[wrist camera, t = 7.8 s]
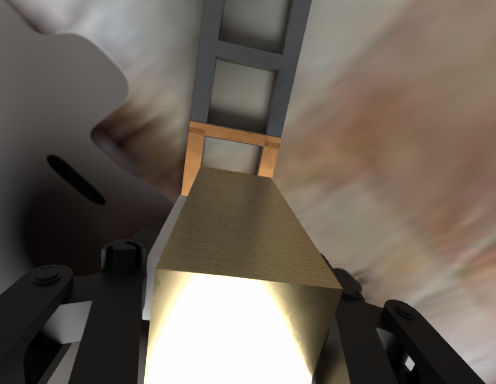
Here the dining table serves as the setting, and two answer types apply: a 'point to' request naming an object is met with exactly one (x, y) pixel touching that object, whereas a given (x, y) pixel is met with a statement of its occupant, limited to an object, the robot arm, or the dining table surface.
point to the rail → (250, 57)
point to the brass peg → (238, 289)
